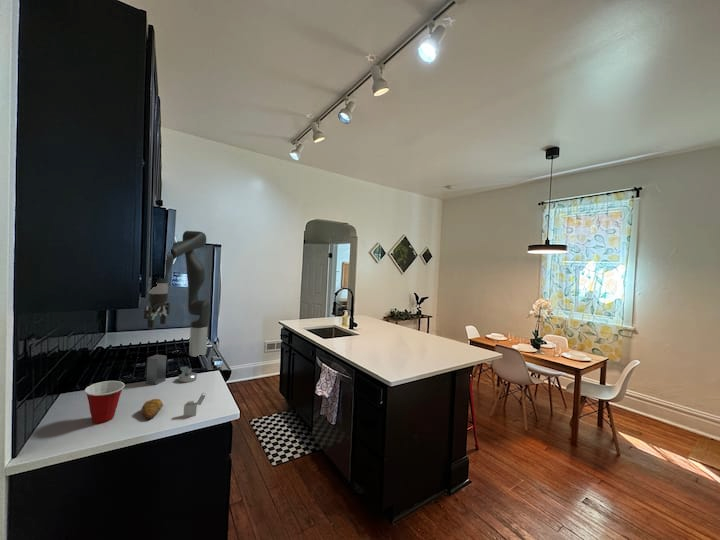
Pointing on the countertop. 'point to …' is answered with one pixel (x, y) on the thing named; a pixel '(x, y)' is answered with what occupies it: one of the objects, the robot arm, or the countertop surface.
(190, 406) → the lighter
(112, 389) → the plastic cup
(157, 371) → the gray rectangular block
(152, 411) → the croissant
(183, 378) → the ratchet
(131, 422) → the countertop surface
